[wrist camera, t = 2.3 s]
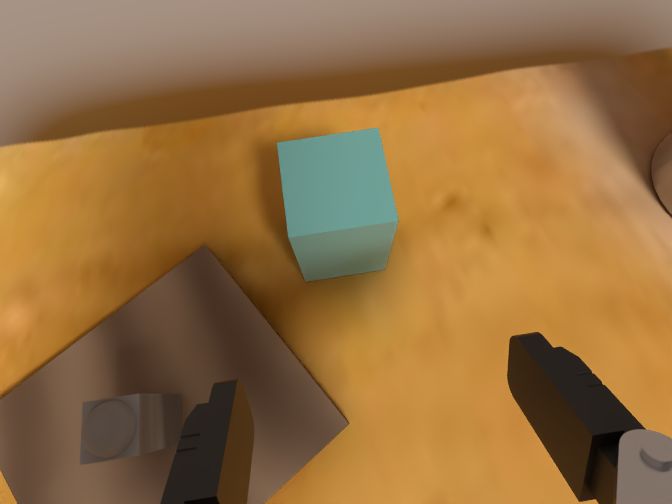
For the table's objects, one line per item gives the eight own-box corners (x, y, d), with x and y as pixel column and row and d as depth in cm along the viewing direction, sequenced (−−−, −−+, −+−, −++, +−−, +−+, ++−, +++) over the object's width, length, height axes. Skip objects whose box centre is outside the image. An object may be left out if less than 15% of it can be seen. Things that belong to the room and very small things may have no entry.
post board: (210, 250, 28) (165, 203, 21) (349, 422, 24) (348, 433, 17) (-9, 417, 25) (-145, 426, 18) (110, 644, 21) (-4, 763, 14)
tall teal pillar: (371, 198, 29) (378, 127, 21) (384, 269, 27) (398, 220, 19) (296, 209, 29) (276, 142, 21) (305, 281, 27) (288, 237, 19)
